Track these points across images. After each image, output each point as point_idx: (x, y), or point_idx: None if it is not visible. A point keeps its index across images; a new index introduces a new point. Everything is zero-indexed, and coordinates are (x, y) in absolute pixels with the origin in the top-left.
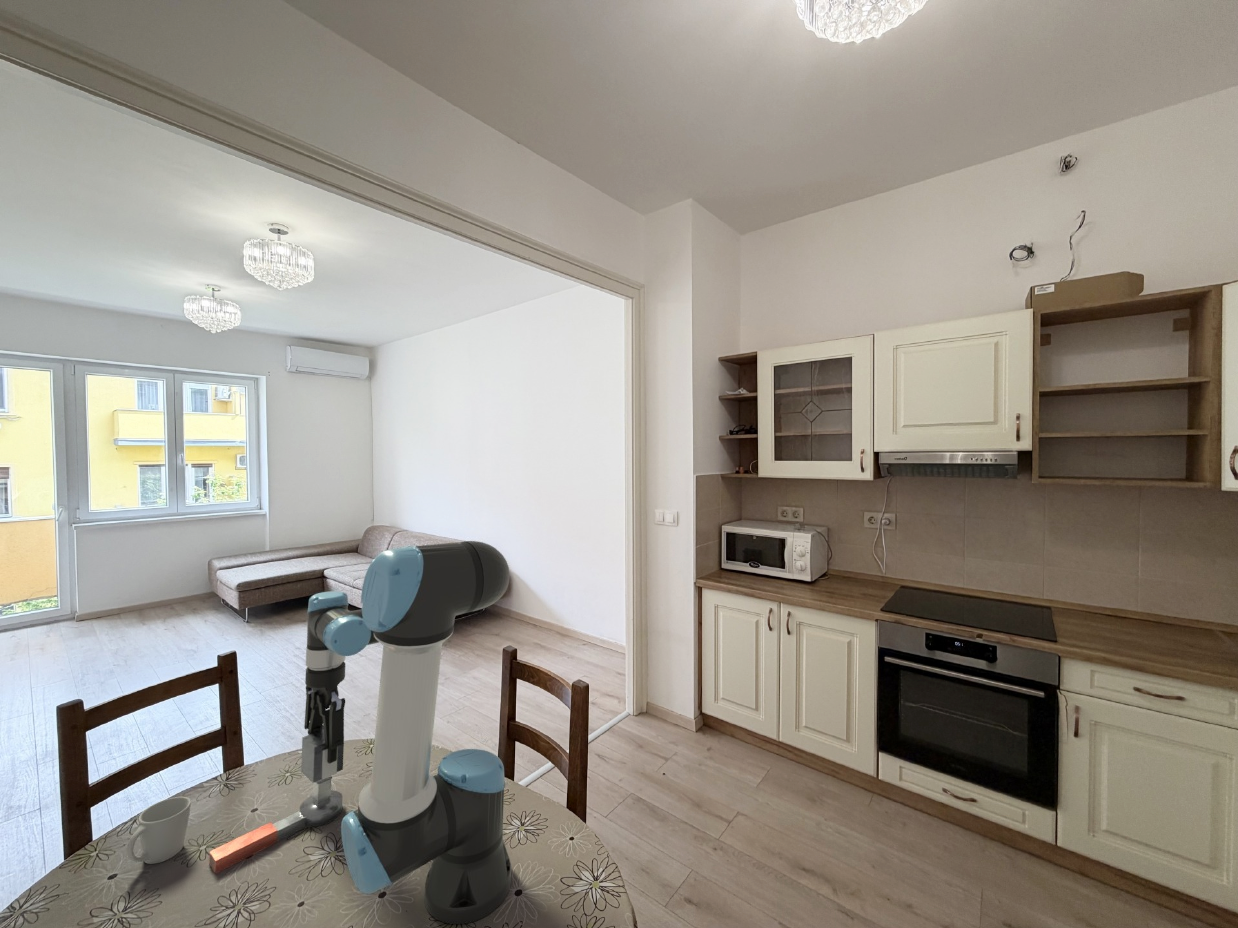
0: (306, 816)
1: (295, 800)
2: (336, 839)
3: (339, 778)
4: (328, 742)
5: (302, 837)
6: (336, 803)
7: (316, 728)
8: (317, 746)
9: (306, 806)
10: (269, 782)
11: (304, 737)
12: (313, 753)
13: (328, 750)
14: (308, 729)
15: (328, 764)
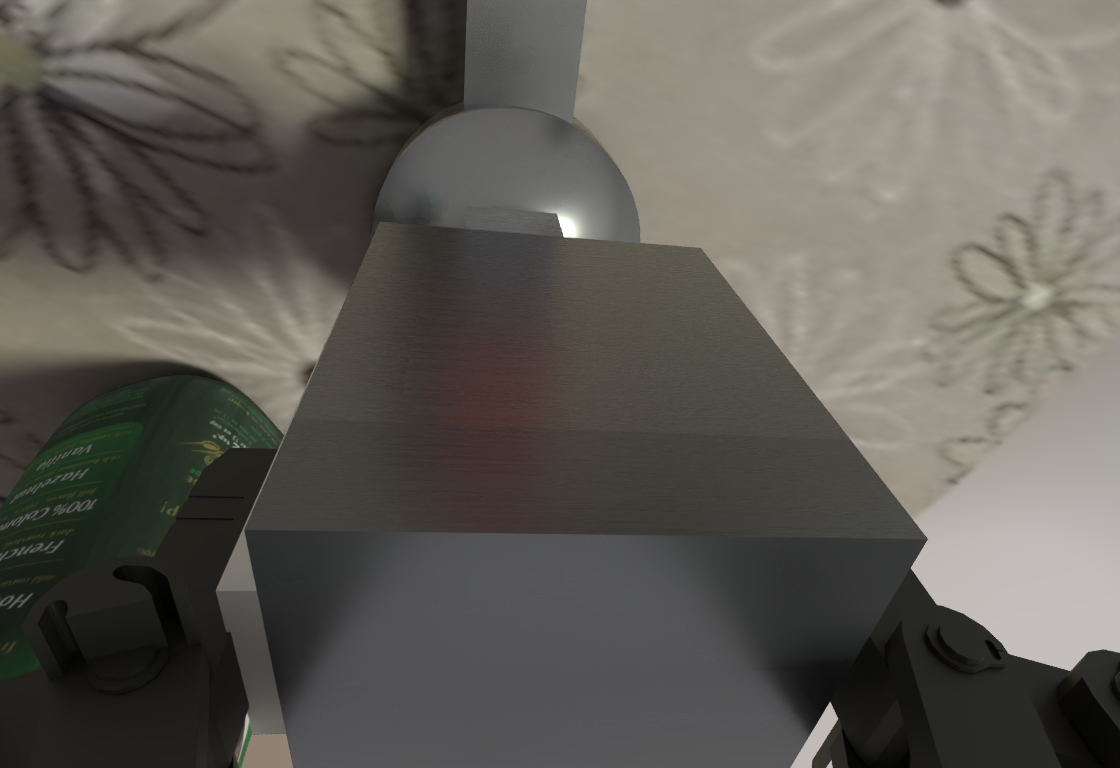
0: (457, 115)
1: (774, 199)
2: (161, 150)
3: None
4: (38, 764)
5: (361, 23)
6: None
7: (895, 750)
8: (253, 569)
9: (555, 168)
10: (1090, 195)
11: (877, 555)
12: (334, 422)
13: (211, 589)
14: (1010, 689)
15: None
